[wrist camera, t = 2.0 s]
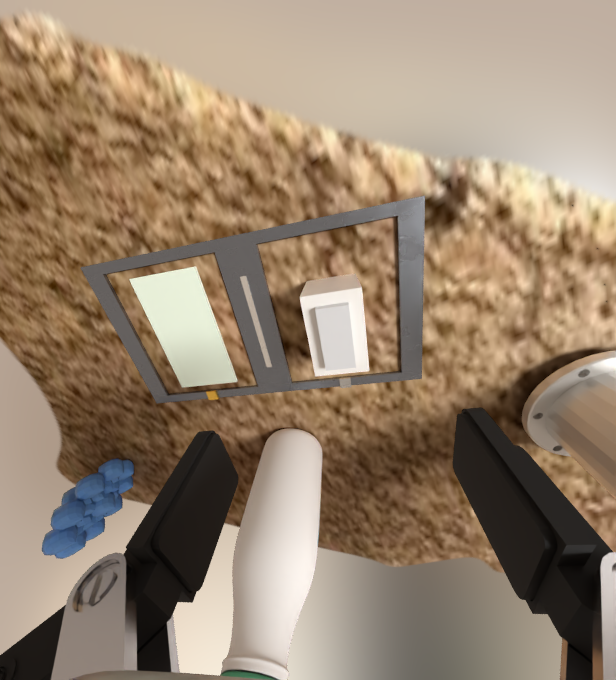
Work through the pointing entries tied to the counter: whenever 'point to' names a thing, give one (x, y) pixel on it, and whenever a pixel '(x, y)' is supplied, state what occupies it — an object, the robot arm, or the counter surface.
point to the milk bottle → (275, 555)
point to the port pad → (185, 326)
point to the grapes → (88, 508)
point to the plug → (335, 324)
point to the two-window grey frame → (257, 309)
